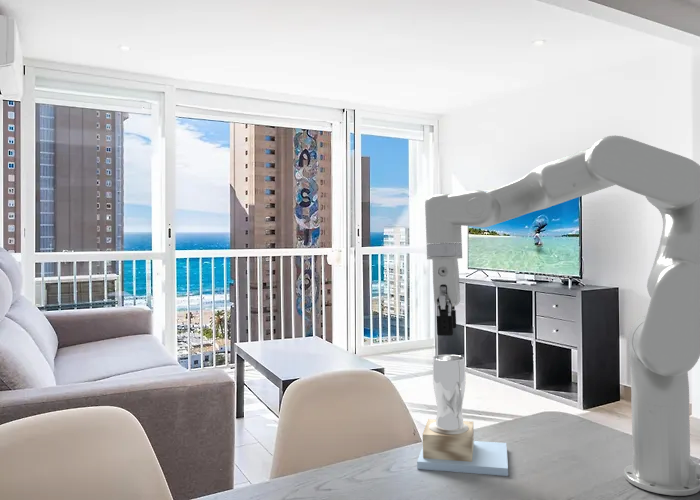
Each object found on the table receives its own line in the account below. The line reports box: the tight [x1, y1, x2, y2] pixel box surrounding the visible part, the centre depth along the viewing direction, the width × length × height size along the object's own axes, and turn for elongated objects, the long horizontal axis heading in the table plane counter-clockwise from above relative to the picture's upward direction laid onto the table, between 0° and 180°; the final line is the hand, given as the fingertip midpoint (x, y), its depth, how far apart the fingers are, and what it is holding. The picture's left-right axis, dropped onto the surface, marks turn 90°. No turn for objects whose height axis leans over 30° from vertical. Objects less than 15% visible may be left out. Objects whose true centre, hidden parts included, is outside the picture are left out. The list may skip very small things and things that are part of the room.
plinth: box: [422, 418, 475, 462], centre depth 117 cm, size 10×10×5 cm
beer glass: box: [432, 354, 467, 431], centre depth 116 cm, size 7×7×15 cm
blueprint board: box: [416, 440, 509, 477], centre depth 116 cm, size 18×14×2 cm
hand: (447, 331), depth 116 cm, fingers open, 9 cm apart
